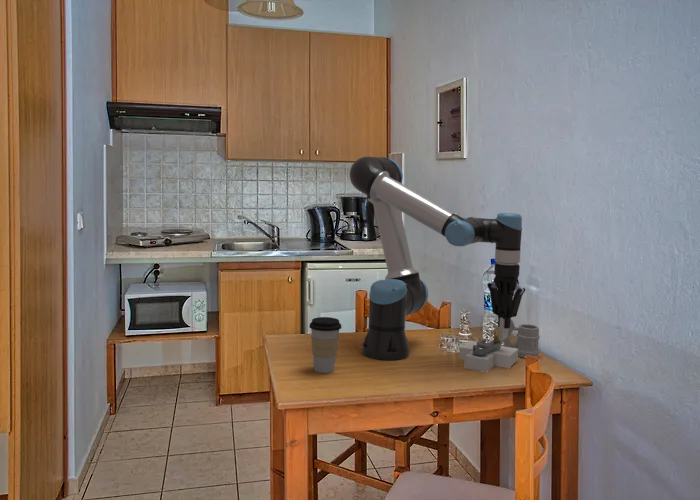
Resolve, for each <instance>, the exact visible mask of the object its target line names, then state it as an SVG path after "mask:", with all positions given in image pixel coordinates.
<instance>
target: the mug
mask: <svg viewBox="0 0 700 500" xmlns="http://www.w3.org/2000/svg"><path fill="white" fill-rule="evenodd" d="M513 331H517V333H516V338H517V339H516V341H514V342H510V336H511V334H512V333H513ZM539 334H540V327H538V326H537V325H534V324H530V323H529V324H527V323H526V324H525V323H524V324H523V323H522V324H519V325H518V326H515V323H514V321H513V319H512V318H511V320H510V328H508V338H505V339H503V340H502V343H503V346H504V347H510V348H516V349H518V356H519V357H518V358H521V357H525V356H526V355H531V356H538V357H539V354H540V349H539V340H540V335H539Z"/></svg>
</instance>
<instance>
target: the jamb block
mask: <svg viewBox="0 0 700 500" xmlns="http://www.w3.org/2000/svg"><path fill="white" fill-rule="evenodd" d="M478 346H479V347H482V346H483V343H478ZM463 363H464V367H463V369H465V368H467V369H466V370H470V369H472V370H471V371H475V370H477V371H476V372H480V371H483V372H482V373H485V372H487V371H488V372H489V371H490V370H492V369H493V368H494V367H495V366H494V354H490V353H487V355H486V356H477V355H474V354H473V350H472V351H471V352H469V353H468V354H466V355H465V360H464V362H463ZM491 368H492V369H491ZM488 372H487V373H488Z"/></svg>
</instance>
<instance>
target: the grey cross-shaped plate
mask: <svg viewBox="0 0 700 500" xmlns="http://www.w3.org/2000/svg"><path fill="white" fill-rule="evenodd" d="M478 343H483V344H485V343H487V339H486V338H481V339H480V340H478V341H476V340H469V341H467V342H466V343H464V344H463V345H461V346H460V347H459V357H458V358H459V360H460V359H461V360H462V361H465V355H466V354H468V353H469V352H471V351H472V350H473V346H474V345H478ZM488 353H490V354H494V367H497V366H498V368H502V367H505V368H504V369H508V368H509V369H510V368H512V367H513V366H514V365H515V364H516V363H517V362H519V361H518V359H519V357H518V349H516V347H514V348H510V347H504V345H501V348H500V349H497V350H494V351H491V352H488ZM515 362H516V363H515ZM514 363H515V364H514ZM513 364H514V365H513ZM512 365H513V366H512ZM511 366H512V367H511Z"/></svg>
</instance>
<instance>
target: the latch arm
mask: <svg viewBox="0 0 700 500" xmlns="http://www.w3.org/2000/svg"><path fill="white" fill-rule="evenodd" d="M493 327H494V328H493V339H492V341H488V342H486V343H485V344H483V346H482V347H479V346H478V345H474V346H473V354H474V355H477V356H486V355H487V353H488V352H491V351H494V350H497V349H500V348H501V346H502V343H503V341H504V340H503V339H500V338H499V327H498V325H497V326H493Z"/></svg>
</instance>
